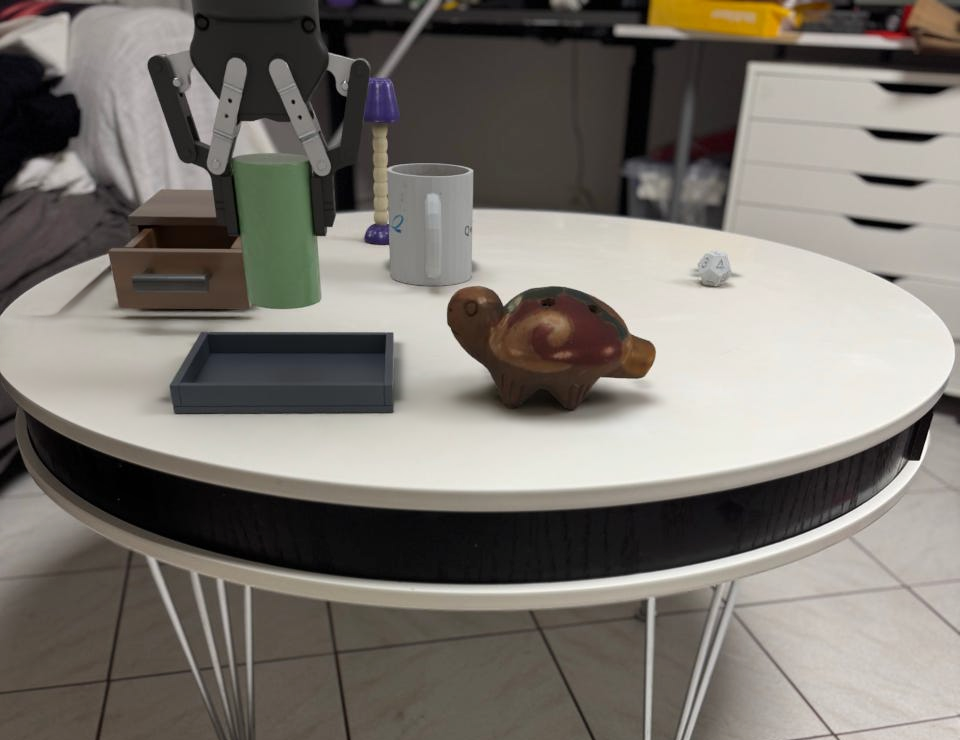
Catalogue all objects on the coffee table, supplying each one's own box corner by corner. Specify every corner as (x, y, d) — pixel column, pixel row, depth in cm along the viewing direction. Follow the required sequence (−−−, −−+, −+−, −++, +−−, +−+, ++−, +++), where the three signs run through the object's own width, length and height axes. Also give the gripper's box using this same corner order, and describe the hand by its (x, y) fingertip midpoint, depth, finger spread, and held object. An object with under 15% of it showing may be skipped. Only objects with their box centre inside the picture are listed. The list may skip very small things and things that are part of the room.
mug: (398, 263, 100) (395, 161, 94) (476, 267, 99) (478, 165, 93) (375, 292, 90) (370, 180, 84) (461, 297, 89) (462, 185, 83)
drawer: (243, 323, 78) (235, 263, 75) (106, 322, 77) (94, 262, 74) (267, 271, 92) (262, 220, 89) (153, 271, 91) (143, 219, 88)
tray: (174, 413, 63) (169, 385, 62) (204, 356, 73) (201, 331, 72) (393, 412, 64) (392, 384, 63) (394, 356, 74) (393, 332, 73)
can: (243, 309, 63) (225, 163, 57) (253, 289, 67) (237, 152, 62) (319, 309, 63) (307, 165, 58) (324, 290, 67) (314, 153, 62)
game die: (722, 279, 98) (727, 249, 96) (734, 288, 94) (739, 257, 93) (690, 279, 97) (695, 249, 95) (701, 288, 94) (706, 257, 92)
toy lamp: (410, 240, 109) (407, 78, 100) (386, 247, 106) (381, 80, 96) (379, 235, 111) (373, 75, 102) (354, 241, 108) (346, 77, 99)
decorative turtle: (435, 377, 70) (442, 267, 66) (623, 385, 73) (641, 280, 68) (449, 418, 62) (457, 296, 58) (660, 426, 64) (683, 309, 60)
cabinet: (271, 289, 90) (263, 217, 86) (141, 289, 89) (127, 215, 85) (286, 255, 102) (280, 190, 98) (171, 254, 101) (160, 189, 97)
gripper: (373, -72, 56) (383, 224, 66) (136, -80, 55) (182, 222, 65) (369, -80, 50) (382, 247, 60) (103, -89, 49) (160, 245, 59)
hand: (278, 232), depth 62 cm, fingers closed on can, 5 cm apart
